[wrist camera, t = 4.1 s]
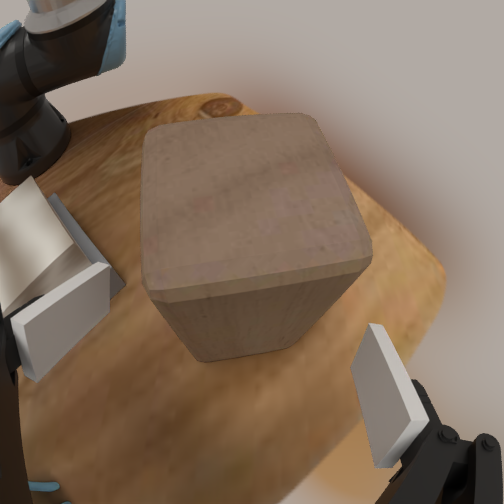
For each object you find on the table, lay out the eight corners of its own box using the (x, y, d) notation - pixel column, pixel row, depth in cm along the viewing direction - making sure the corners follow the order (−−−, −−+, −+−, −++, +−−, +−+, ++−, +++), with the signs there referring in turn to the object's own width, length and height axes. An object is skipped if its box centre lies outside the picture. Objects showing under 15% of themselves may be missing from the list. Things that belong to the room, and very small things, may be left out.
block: (183, 272, 33) (140, 121, 15) (274, 258, 34) (315, 106, 16) (195, 364, 28) (136, 297, 11) (295, 347, 30) (388, 257, 12)
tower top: (49, 201, 30) (31, 175, 26) (95, 267, 27) (73, 242, 23) (-17, 266, 26) (-41, 246, 21) (16, 344, 23) (-14, 331, 18)
